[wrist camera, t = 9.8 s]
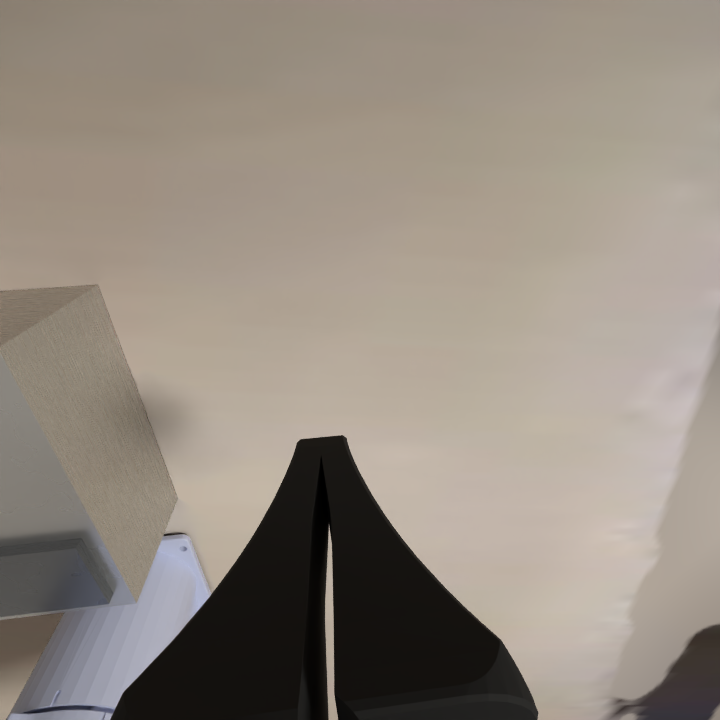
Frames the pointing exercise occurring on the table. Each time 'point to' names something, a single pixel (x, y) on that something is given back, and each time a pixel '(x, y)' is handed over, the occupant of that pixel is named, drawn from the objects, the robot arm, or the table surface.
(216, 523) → the table surface
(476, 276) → the table surface
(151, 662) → the robot arm
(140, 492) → the motor housing
